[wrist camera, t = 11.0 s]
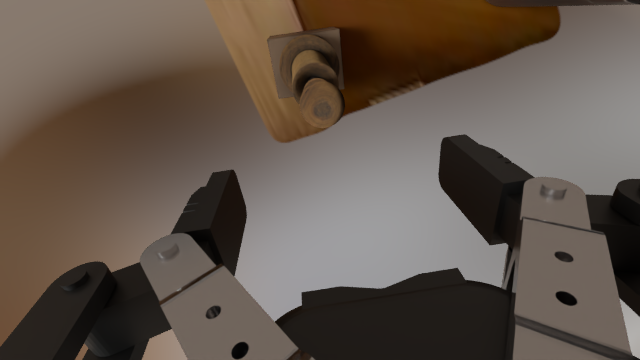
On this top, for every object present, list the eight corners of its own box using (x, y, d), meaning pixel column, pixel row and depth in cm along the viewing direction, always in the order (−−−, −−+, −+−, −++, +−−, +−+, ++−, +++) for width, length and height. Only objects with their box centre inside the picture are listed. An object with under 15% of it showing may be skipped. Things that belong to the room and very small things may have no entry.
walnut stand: (333, 26, 37) (339, 29, 33) (338, 80, 40) (344, 88, 36) (269, 36, 37) (267, 39, 33) (279, 89, 40) (278, 98, 36)
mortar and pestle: (280, 93, 36) (272, 157, 20) (279, 32, 32) (268, 53, 17) (335, 94, 36) (368, 157, 21) (339, 35, 33) (383, 57, 18)
